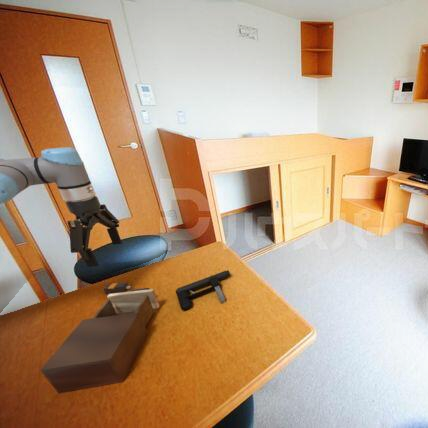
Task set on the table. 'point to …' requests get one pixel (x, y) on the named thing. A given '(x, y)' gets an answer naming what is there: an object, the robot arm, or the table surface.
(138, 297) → the drawer
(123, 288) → the box cutter
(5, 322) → the table surface
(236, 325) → the table surface
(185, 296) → the black clamp
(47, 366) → the cabinet
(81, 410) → the table surface
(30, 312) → the table surface
